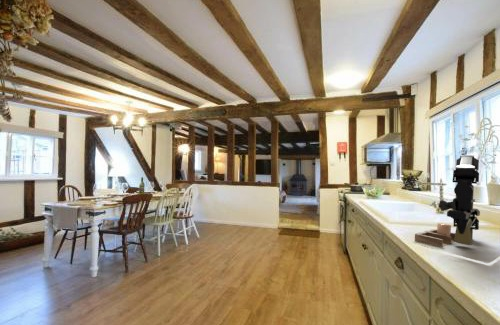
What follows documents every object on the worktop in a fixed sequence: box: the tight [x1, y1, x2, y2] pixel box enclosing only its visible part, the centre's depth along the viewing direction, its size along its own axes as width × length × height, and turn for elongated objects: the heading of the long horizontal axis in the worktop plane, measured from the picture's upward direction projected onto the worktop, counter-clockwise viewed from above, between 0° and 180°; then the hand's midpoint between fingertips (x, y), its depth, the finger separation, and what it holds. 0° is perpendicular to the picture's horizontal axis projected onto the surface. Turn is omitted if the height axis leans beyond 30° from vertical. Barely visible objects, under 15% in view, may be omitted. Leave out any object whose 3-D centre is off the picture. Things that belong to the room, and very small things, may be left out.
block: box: [436, 222, 452, 236], centre depth 115 cm, size 5×5×7 cm
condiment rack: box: [414, 228, 455, 248], centre depth 113 cm, size 20×10×4 cm, turn 124°
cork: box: [454, 218, 473, 246], centre depth 104 cm, size 6×6×11 cm
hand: (463, 233), depth 104 cm, fingers closed on cork, 4 cm apart
